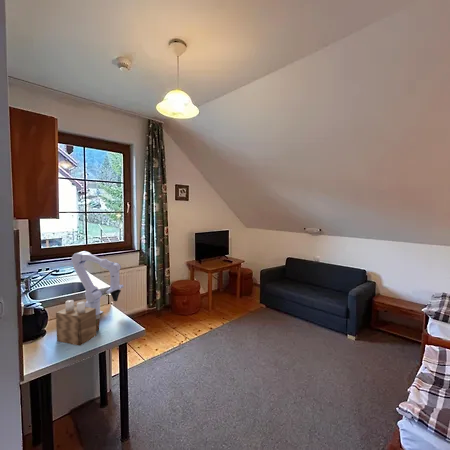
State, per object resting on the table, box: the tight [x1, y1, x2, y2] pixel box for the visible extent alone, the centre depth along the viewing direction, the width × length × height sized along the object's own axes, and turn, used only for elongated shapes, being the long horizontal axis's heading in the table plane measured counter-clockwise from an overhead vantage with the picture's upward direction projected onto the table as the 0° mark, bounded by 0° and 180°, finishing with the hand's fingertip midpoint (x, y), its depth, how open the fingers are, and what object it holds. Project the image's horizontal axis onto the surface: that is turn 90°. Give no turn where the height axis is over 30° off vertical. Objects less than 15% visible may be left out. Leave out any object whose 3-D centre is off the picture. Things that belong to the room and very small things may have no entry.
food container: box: [96, 314, 101, 332], centre depth 159 cm, size 12×6×10 cm, turn 73°
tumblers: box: [65, 299, 86, 313], centre depth 149 cm, size 12×4×5 cm, turn 73°
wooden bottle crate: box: [55, 304, 97, 347], centre depth 150 cm, size 16×12×16 cm
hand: (115, 300), depth 182 cm, fingers closed
